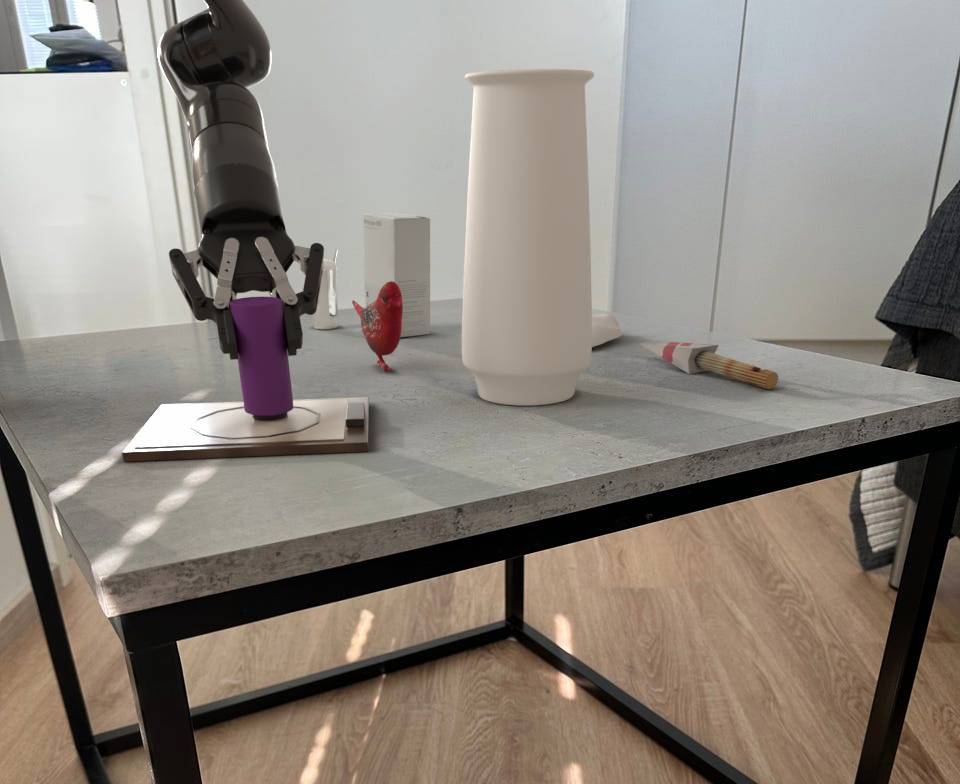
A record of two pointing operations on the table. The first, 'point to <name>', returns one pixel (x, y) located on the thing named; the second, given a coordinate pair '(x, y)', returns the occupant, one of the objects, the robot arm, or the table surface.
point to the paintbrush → (710, 362)
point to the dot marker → (262, 357)
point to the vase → (527, 236)
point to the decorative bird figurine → (382, 321)
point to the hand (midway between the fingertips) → (263, 351)
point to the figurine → (604, 328)
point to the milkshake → (327, 297)
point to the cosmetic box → (399, 264)
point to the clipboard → (251, 431)
